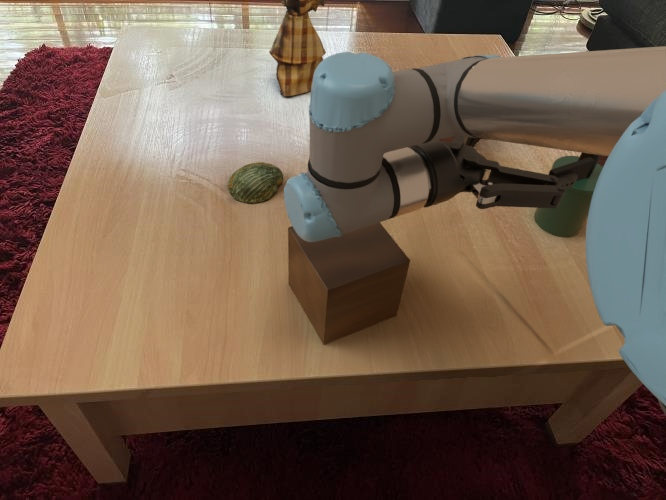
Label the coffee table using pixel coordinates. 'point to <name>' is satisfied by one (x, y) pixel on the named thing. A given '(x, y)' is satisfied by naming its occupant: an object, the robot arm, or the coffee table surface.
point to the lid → (588, 183)
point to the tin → (565, 215)
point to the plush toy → (297, 48)
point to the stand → (347, 279)
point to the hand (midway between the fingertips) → (549, 138)
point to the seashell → (255, 182)
